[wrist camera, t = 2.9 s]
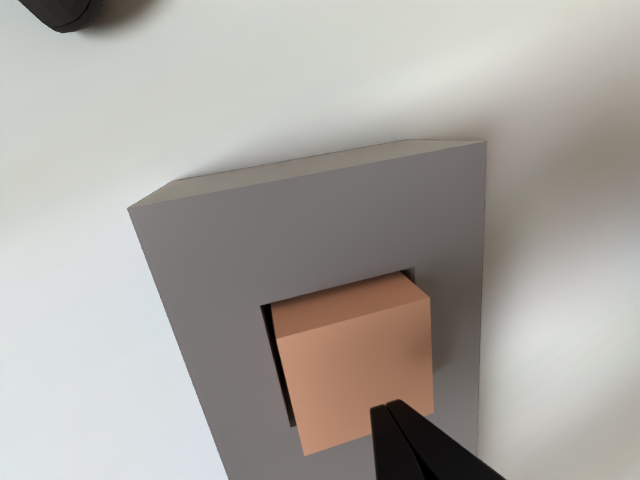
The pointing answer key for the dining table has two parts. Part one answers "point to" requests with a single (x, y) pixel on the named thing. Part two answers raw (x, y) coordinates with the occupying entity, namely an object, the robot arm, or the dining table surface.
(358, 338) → the terracotta key
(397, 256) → the key housing
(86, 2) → the gaming controller
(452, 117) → the dining table surface
